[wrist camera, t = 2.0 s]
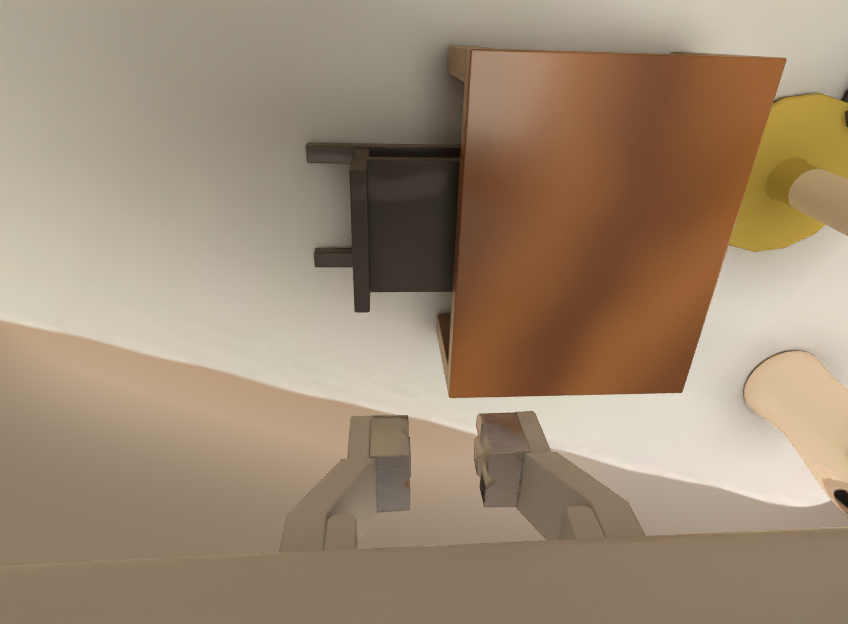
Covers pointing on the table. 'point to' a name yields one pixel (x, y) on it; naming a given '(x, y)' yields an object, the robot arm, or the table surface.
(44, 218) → the table surface
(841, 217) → the candle
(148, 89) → the table surface
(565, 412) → the table surface
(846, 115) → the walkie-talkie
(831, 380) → the beer glass
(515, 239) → the side table
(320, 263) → the chair
